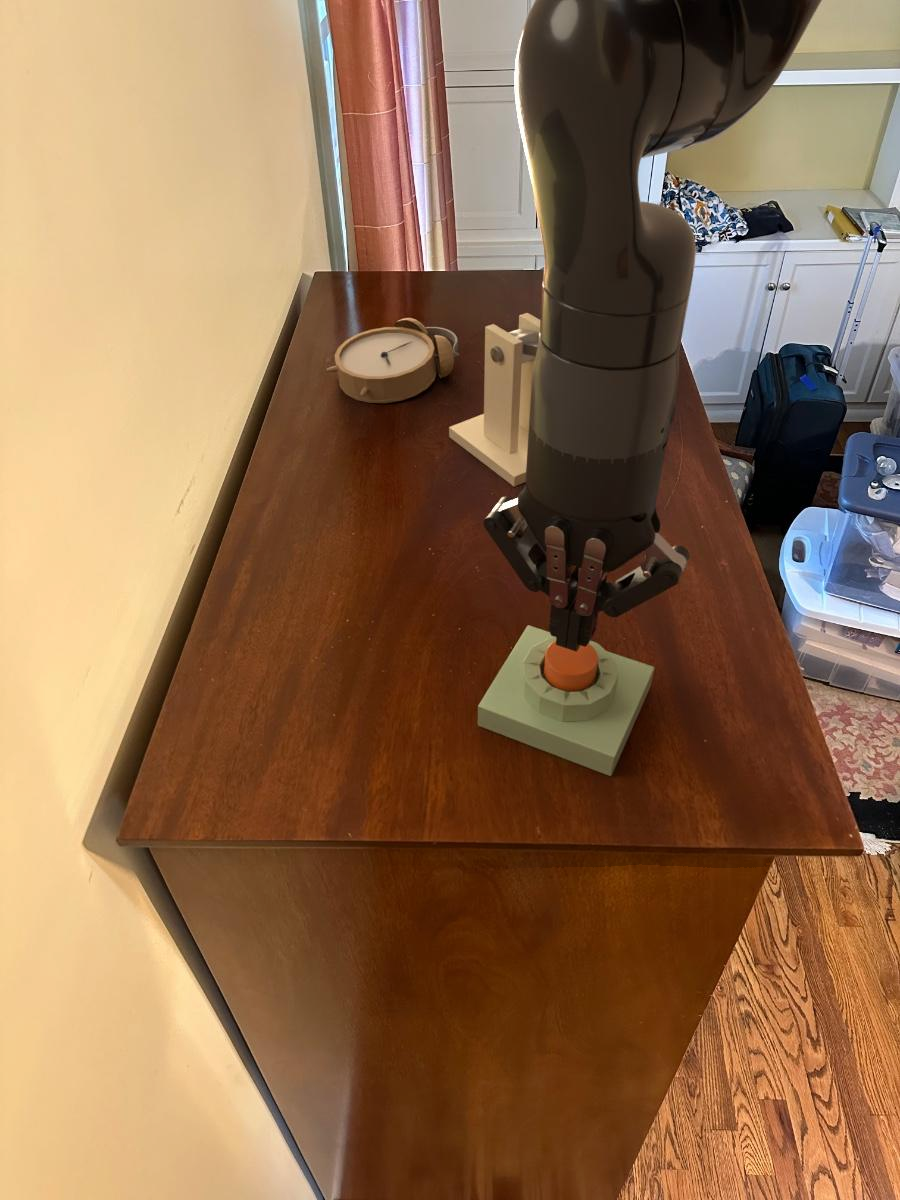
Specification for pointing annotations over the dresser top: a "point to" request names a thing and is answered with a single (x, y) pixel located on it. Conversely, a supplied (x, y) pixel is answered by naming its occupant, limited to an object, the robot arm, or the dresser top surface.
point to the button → (570, 667)
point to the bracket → (502, 405)
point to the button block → (566, 704)
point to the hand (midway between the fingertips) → (571, 640)
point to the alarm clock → (394, 361)
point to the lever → (527, 343)
